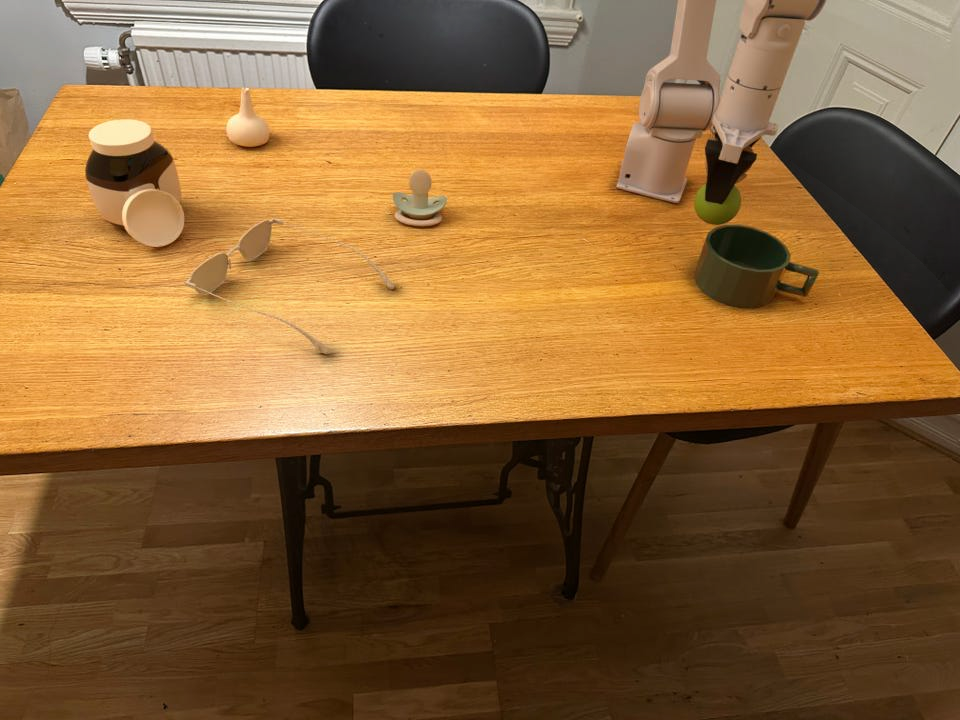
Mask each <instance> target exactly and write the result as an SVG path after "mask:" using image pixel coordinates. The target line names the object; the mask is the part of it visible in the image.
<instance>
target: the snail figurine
mask: <svg viewBox="0 0 960 720" xmlns="http://www.w3.org/2000/svg"><path fill="white" fill-rule="evenodd" d="M716 133H717V131H716V130H715V129H714V127H713V126H712V127H711V128H710V129H709V137H708V139H710V140H715V141H718V139H717V138H715V137H714V136H715V134H716ZM711 135H712V136H711ZM743 151H748V152H752V153H755V152H754V150H753V147H752V148H751V147H750V146H749V145H748V146H747V147H745V148H744V149H743ZM752 166H753V164H752V165H751V166H750V167H749V168H748V169H747V170H746V171H745V172H744V173H743V174H742V175H741V176H740V177H739V179H738V180H737V182H736V183H735V185H734V186H733V188H732V190H731V192H730V193H729V195H728V197H727V198H726V200H725V201H724V203H723V204H721V205H720V204H718V203H712V202H708V201H705V189H706V182H705V183H704V184H702V186H700V188H699V189H698V190H697V192H696V193H695V197H694V202H693V207H694V211H695V213H696V215H697V217H698V218H699V219H700V220H701V221H702V222H704V223H706V224H708V225H712V226H721V225H725V224H727V223H729V222H730V221H732V220H733V219H734V218H735V217H736V216H737V214H738V213H739V211H740V209H741V206H742V195H741V192H740V190H739V188H738V187H737V185H736V184H739V183H741V182H742V181H743V180H745V179H746V178H747V177H748V174H747V172H749V171H750V170H751V168H752ZM704 168H705V173H706V174H707V171H708V169H707V159H706V157H705V159H704Z"/></svg>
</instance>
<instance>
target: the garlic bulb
mask: <svg viewBox="0 0 960 720" xmlns="http://www.w3.org/2000/svg"><path fill="white" fill-rule="evenodd" d="M240 90H241V94H240V104H239V112H238V113H237V114H234V115H233V116H231V117H230V118H229V119H228V121H227V122H226V126H225V131H226V136H227V138H228V139H229V140H230V141H231V142H232V143H233V144H235V145H238V146H241V147H252V148H253V147H260V146H262V145H264V144H266V143H267V142H268V141H269V140H270V136H271V135H270V134H271V132H270V126H269V125H268V123H267V121H266V120H265V119H264V118H263V117H261V116H260V115H258V114H256V112H255V110H254V107H253V102H252V98H251V94H250V88H248V87H242V88H241V89H240Z"/></svg>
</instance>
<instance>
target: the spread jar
mask: <svg viewBox="0 0 960 720" xmlns="http://www.w3.org/2000/svg"><path fill="white" fill-rule="evenodd" d="M88 139H89V143H90V145H91V148H92V150H91V152H90V154H89V155H88V158H87V161H86V164H85V168H84V169H85V170H84V171H85V174H84V175H85V181H86V184H87V188H88V192H89V194H90V196H91V200H92V202H93V205H94V207H95V210H96V212H97V213H98V214H99V216H100V217H101V218H102V219H103V220H104V221H106V222H107V223H109V224H110V225H112V226H113V227H116V228H118V229H121V230H124V231H125V232H127V234H128V235H129V236H130V237H131V238H132V239H133V240H134V241H136V242H138V243H140V244H143V245H145V246H148V247H153V248H155V247H156V248H160V247H165V246H168V245H170V244H172V243H173V242H175V241H176V240H177V239H178V238H179V237H180V235H181V234H182V232H183V230H184V225H185V213H184V209H183V207H182V205H181V203H182V187H181V183H180V179H179V175H178V170H177V167H176V166H177V165H176V163H175V160H174V158H173V156H172V153H171V152H170V151H169V150H168V149H167V148H166V147H165V146H164V145H162V144H161V143H160V142H158V141H156V140H155V138H154V135H153V131H152V128H151V126H150V125H149V124H148V123H146V122H144V121H141V120H136V119H114V120H109V121H105V122H102V123H99V124H98V125H96V126H94V127H92V128H91V129H90V130H89V132H88Z"/></svg>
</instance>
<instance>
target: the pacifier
mask: <svg viewBox="0 0 960 720" xmlns="http://www.w3.org/2000/svg"><path fill="white" fill-rule="evenodd" d="M408 186H409V189H410V191H411V195H410V194H408V193H404V192H399V191H398V192H394V193H393V195H392V201H393V203H394V205H395V207H396V208H397V209H398V210H397V211H395V212H394V215H393V216H394V218H395V219H396V220H397V221H398V222H399V223H401V224H405V225H408V226H413V227H430V226H434V225H437V224H439V223H441V222H442V220H443V216H442V215H441V214H440V211H442V210H443V209H444V208H445V207H446V205H447V204H448V198H447V196H444V195H440V196H439V195H438V196H433V197H430V198H429V192H430V190H431V188H432V177H431V176H430V174H429V173H428V172H427V171H426V170H424V169H416V170H415V171H413V172H412V173H411V174H410V176H409V178H408ZM404 214H406V215H407V216H408V217H410V218H408V217H406V216H404ZM411 218H412V219H411Z"/></svg>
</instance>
